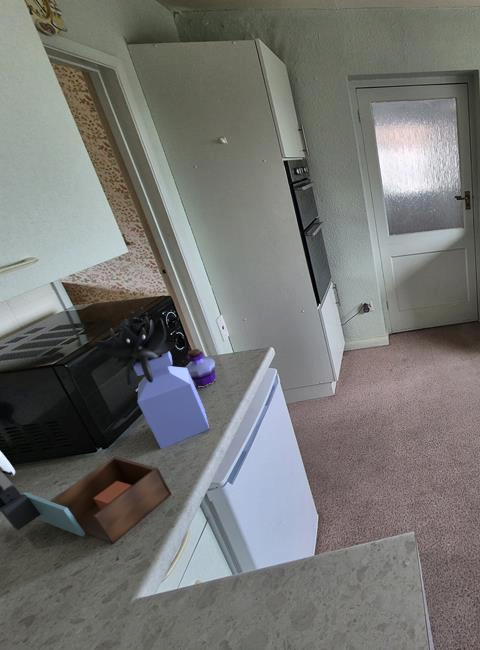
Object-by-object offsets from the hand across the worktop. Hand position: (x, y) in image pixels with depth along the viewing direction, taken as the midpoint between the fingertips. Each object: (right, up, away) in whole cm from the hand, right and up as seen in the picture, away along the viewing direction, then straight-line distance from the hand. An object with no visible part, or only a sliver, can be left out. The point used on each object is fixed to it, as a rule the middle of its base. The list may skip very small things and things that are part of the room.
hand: (11, 505), depth 75 cm
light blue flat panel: (+8, -6, 0) cm, 10 cm away
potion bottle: (+7, +14, +49) cm, 51 cm away
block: (+17, -3, +5) cm, 18 cm away
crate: (+17, -4, +5) cm, 18 cm away
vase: (+14, +6, +28) cm, 32 cm away
